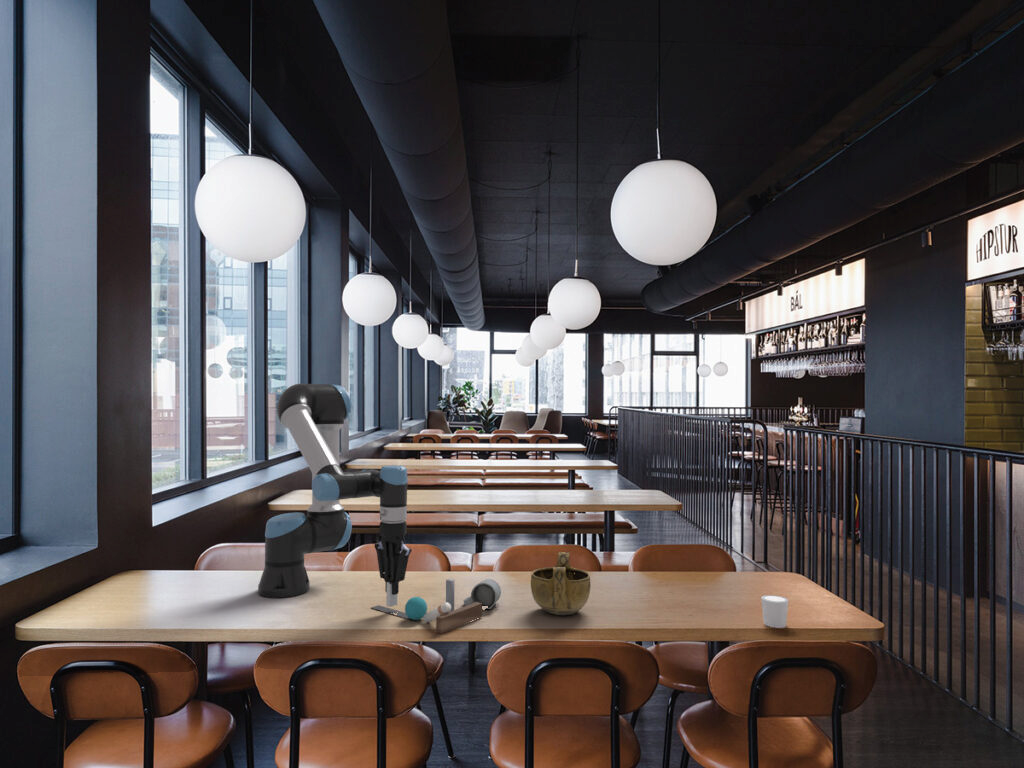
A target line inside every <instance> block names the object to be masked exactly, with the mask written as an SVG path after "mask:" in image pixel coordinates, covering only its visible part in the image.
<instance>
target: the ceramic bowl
mask: <svg viewBox="0 0 1024 768" xmlns="http://www.w3.org/2000/svg"><path fill="white" fill-rule="evenodd" d="M557 554H558V555H557V561H556V565H555V566H550V567H549V566H548V567H543V568H537V569H534V570H532V572H531V575H530V590H531V594H532V598H533V599H534V600H533V601H534V602H535V603H536V604H537V606H539V607H540V609H543V610H544V611H546V612H547V613H550V614H551V615H555V616H569V615H574V614H575V613H578V612H579V611H580V610H582V609H583V607H584V606H585V605H586V604H587V602H588V601H589V597H590V593H591V575H590V573H589V572H588V571H586V570H583V569H579V568H574V567H573V566H571V564H570V563H571V562H570V561H571V560H570V558H571V557H570V554H571V553H570V552H562V551H561V552H558V553H557Z"/></svg>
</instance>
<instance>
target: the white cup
mask: <svg viewBox="0 0 1024 768" xmlns="http://www.w3.org/2000/svg"><path fill="white" fill-rule="evenodd" d="M760 599H761V609H762V619H763V624H764V625H765V626H767V627H769V626H770V628H774V627H775V629H777V628H778V629H784V628H786V627H787V619H788V608H789V599H788V598H786V597H784V596H780V595H776V594H775V595H774V594H773V595H772V594H767V595H762V596H761V598H760Z"/></svg>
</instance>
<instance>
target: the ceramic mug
mask: <svg viewBox="0 0 1024 768" xmlns="http://www.w3.org/2000/svg"><path fill="white" fill-rule="evenodd" d="M470 592H471V593H470V596H468V597H465V598H464V599H463V604H464V606H467V605H469V604H472V603H475V602H479V603H482V606H488V608H486V609H489V610H491V609H492V608H493V607H494V606H495V605H496V603H497V602H498V601H499V599H501V594H502V589H501V585H500V584H499V583H498V582H497V580H494V579H491V578H485V579H484V580H481V581H480V582H479V583H477V584H476V585H475V586H474V587H473V588H472V590H471V591H470Z"/></svg>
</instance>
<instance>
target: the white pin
mask: <svg viewBox="0 0 1024 768" xmlns="http://www.w3.org/2000/svg"><path fill="white" fill-rule="evenodd" d="M449 611H451V605H450V604H449V603H448V602H446V601H445V603H443V604H440V605H439V606H436V607H435V608H433V609H432V610H430V611H427V612H426V614H424V615H423V618H422V620H423V621H424V623H426V622H429V623H430V622H433V621H435V620H436V617H437V616H439V615H442V614H445V613H447V612H449Z"/></svg>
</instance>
